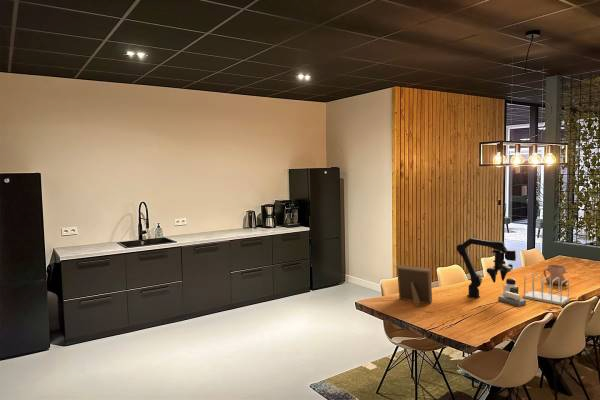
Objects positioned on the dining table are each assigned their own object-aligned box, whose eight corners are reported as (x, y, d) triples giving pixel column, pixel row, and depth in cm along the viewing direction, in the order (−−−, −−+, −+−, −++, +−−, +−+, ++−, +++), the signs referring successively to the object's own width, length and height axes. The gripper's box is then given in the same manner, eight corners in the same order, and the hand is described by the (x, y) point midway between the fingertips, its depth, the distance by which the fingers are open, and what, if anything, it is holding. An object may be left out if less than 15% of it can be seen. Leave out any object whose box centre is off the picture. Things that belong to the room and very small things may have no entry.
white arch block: (504, 300, 306) (504, 291, 306) (506, 300, 307) (506, 291, 307) (517, 304, 298) (517, 295, 297) (519, 304, 299) (520, 294, 298)
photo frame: (401, 297, 316) (401, 263, 314) (432, 302, 305) (432, 266, 303) (394, 303, 304) (394, 267, 301) (426, 308, 293) (426, 271, 290)
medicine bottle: (509, 297, 314) (510, 280, 313) (502, 294, 321) (503, 278, 320) (518, 296, 316) (518, 279, 315) (511, 293, 323) (511, 277, 322)
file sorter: (570, 300, 307) (571, 277, 306) (562, 305, 295) (563, 282, 294) (531, 292, 325) (532, 271, 324) (522, 297, 313) (523, 276, 312)
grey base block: (498, 300, 307) (498, 296, 307) (505, 298, 311) (505, 294, 311) (518, 306, 294) (518, 302, 294) (525, 304, 298) (526, 300, 298)
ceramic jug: (571, 284, 345) (572, 266, 344) (564, 287, 335) (565, 269, 334) (547, 280, 358) (547, 262, 357) (539, 283, 349) (540, 265, 348)
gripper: (500, 263, 294) (500, 286, 296) (518, 259, 304) (517, 282, 305) (486, 260, 304) (485, 282, 305) (503, 257, 313) (503, 278, 315)
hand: (498, 281), depth 307 cm, fingers open, 9 cm apart
